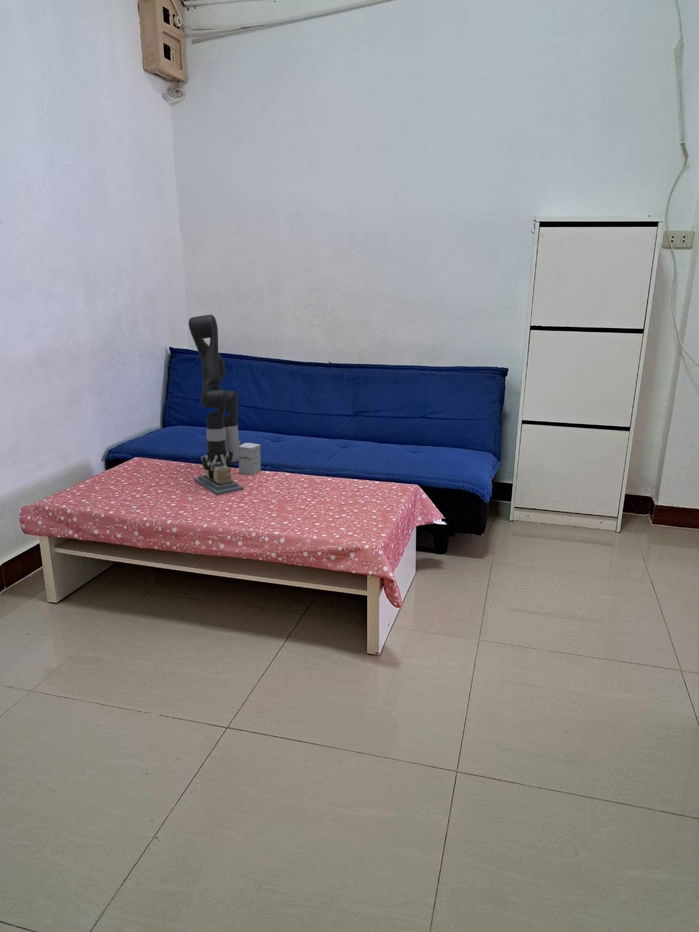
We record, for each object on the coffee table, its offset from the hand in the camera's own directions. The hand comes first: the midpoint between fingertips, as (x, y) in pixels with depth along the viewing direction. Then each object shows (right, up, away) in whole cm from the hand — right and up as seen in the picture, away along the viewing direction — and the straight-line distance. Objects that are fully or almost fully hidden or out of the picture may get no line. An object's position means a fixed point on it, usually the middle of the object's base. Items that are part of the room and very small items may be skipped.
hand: (217, 477), depth 275 cm
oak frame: (0, -1, 0) cm, 1 cm away
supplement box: (+11, +2, +20) cm, 22 cm away
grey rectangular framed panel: (0, -3, +1) cm, 4 cm away
